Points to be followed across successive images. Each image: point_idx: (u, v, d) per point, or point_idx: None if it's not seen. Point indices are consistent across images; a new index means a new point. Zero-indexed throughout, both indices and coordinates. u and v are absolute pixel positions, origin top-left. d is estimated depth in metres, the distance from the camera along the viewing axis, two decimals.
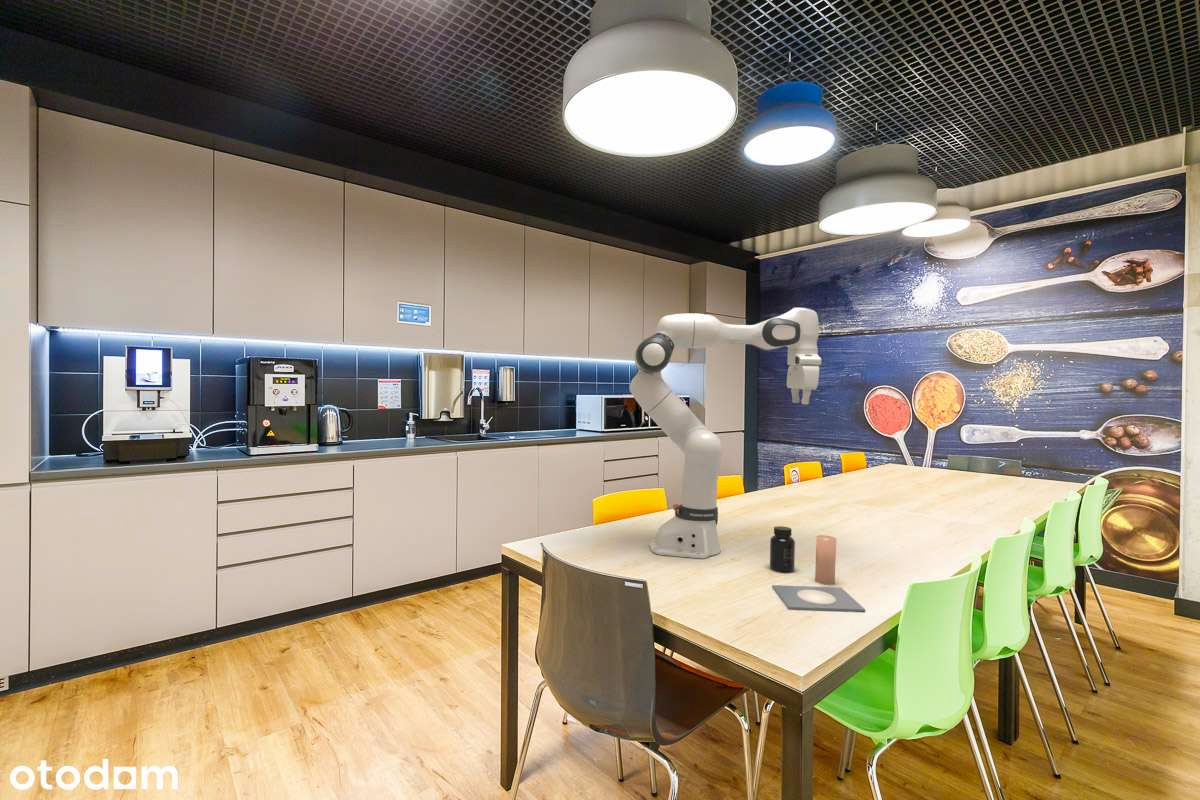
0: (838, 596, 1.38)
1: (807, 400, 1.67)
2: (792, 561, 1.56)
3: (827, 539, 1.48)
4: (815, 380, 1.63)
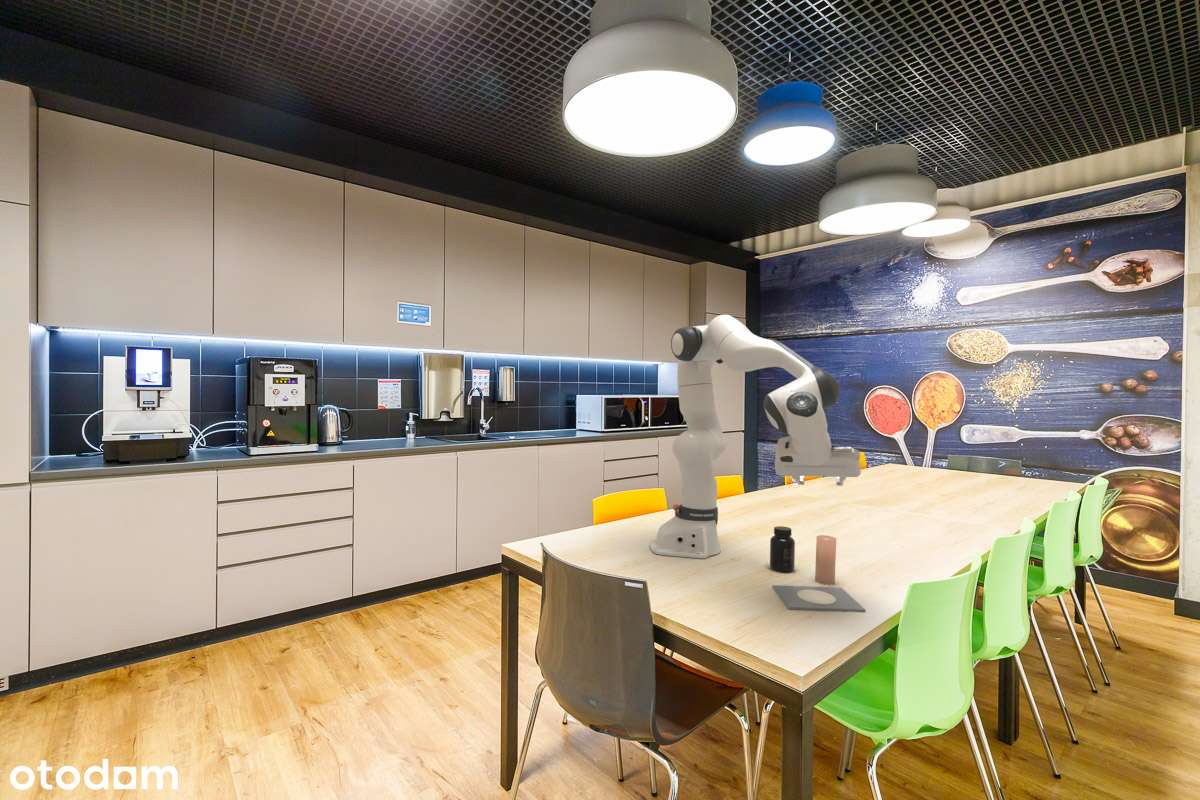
0: (838, 596, 1.38)
1: None
2: (792, 561, 1.56)
3: (827, 539, 1.48)
4: (775, 468, 1.43)
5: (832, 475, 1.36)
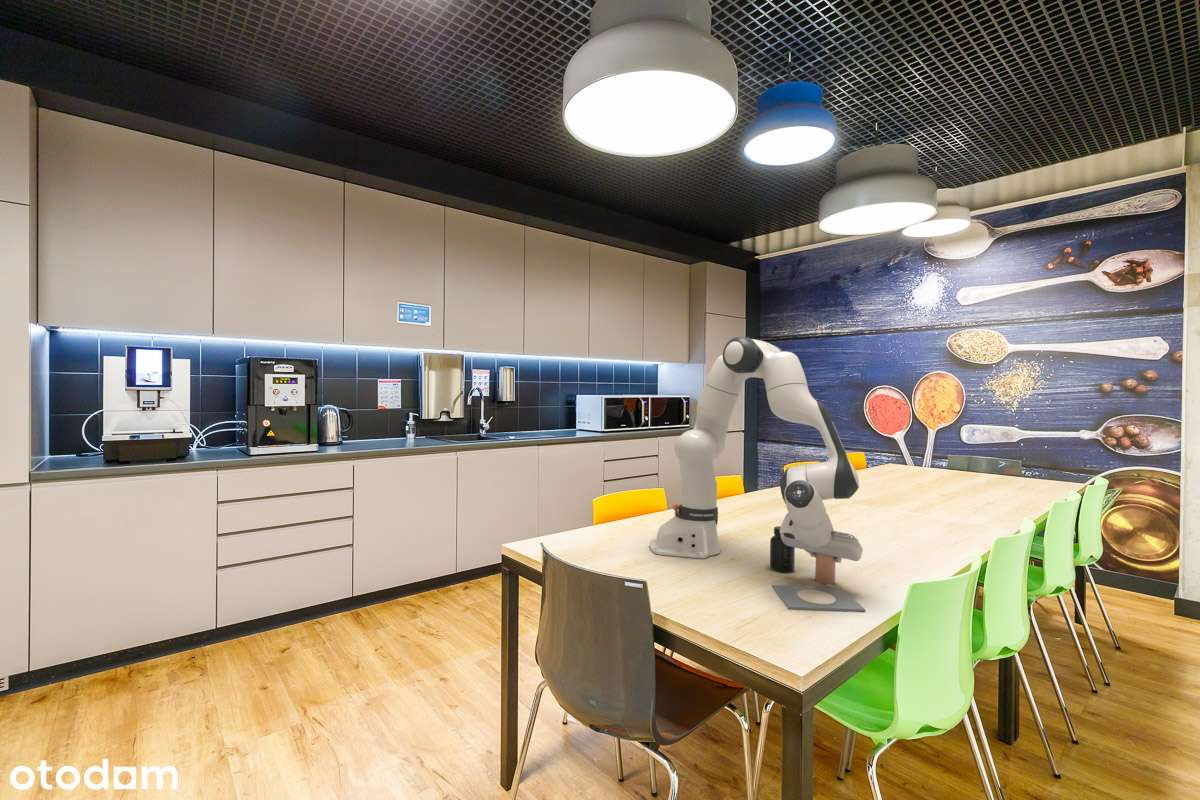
0: (838, 596, 1.38)
1: None
2: (792, 561, 1.56)
3: None
4: None
5: (834, 555, 1.44)
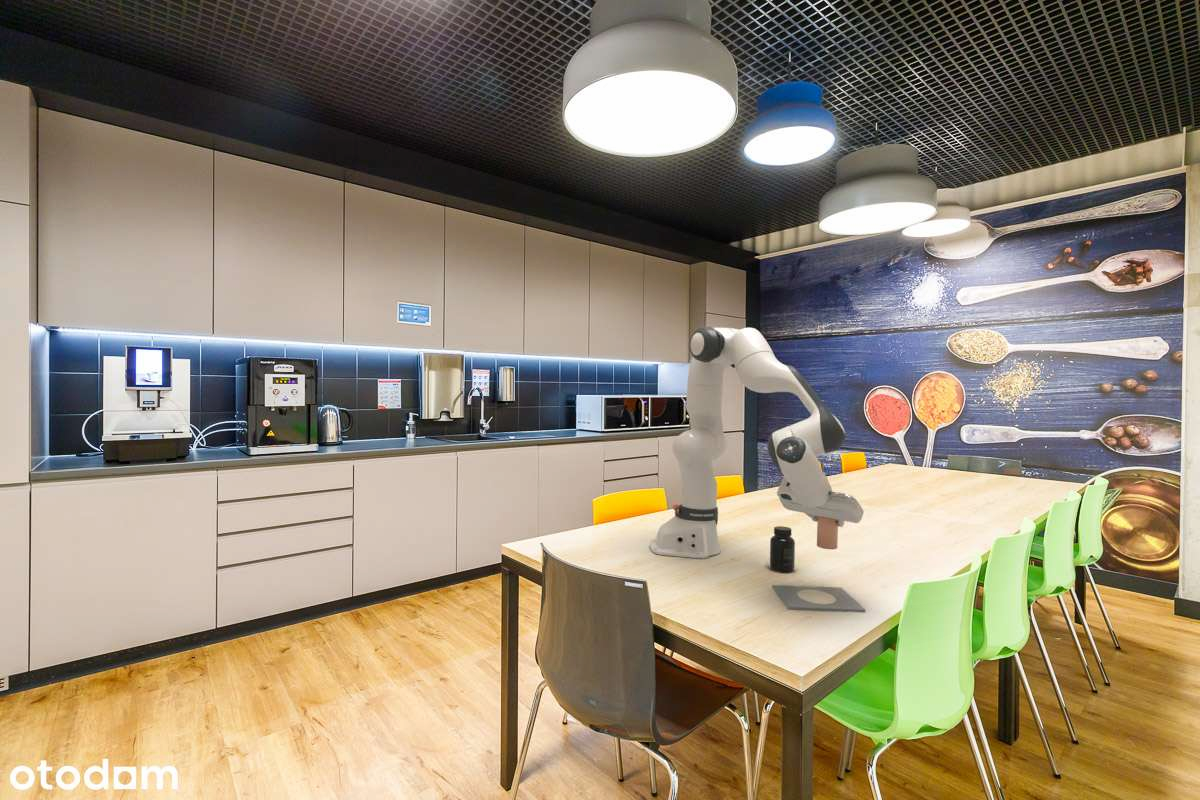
0: (838, 596, 1.38)
1: None
2: (792, 561, 1.56)
3: None
4: None
5: (833, 517, 1.38)
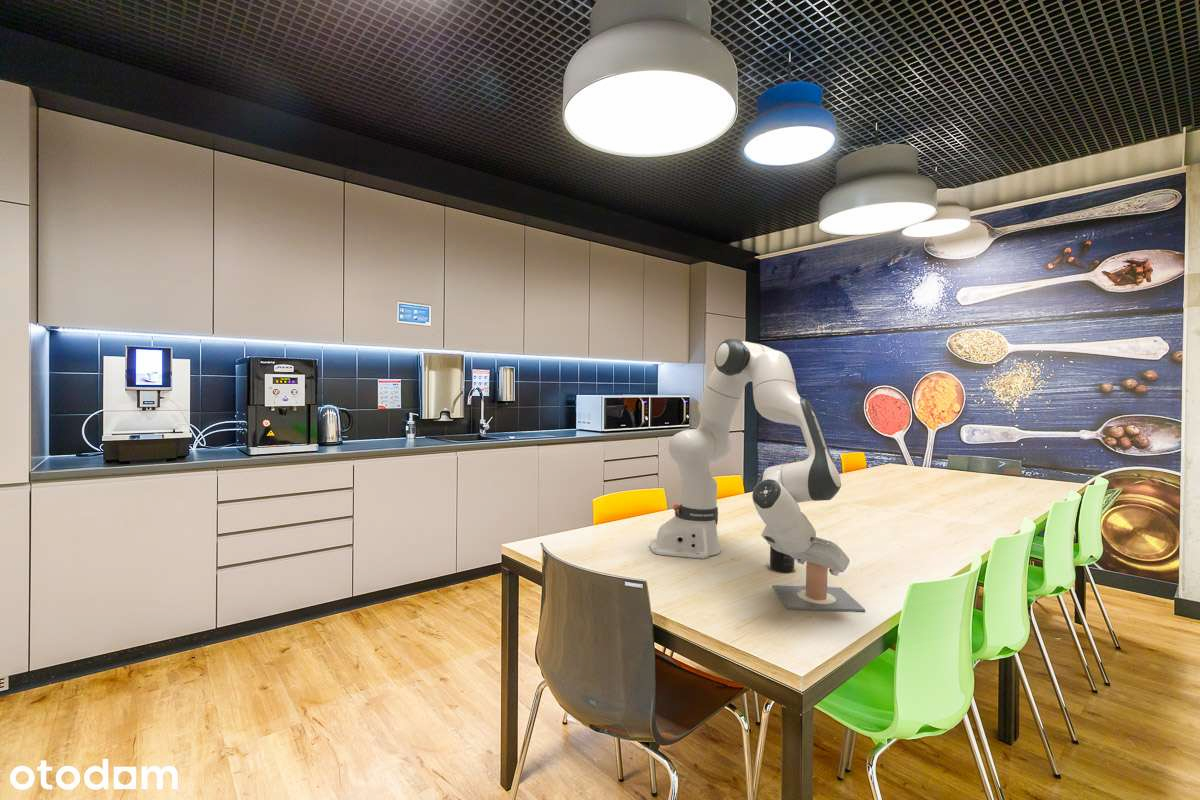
0: (838, 596, 1.38)
1: None
2: (792, 561, 1.56)
3: None
4: None
5: (819, 564, 1.31)
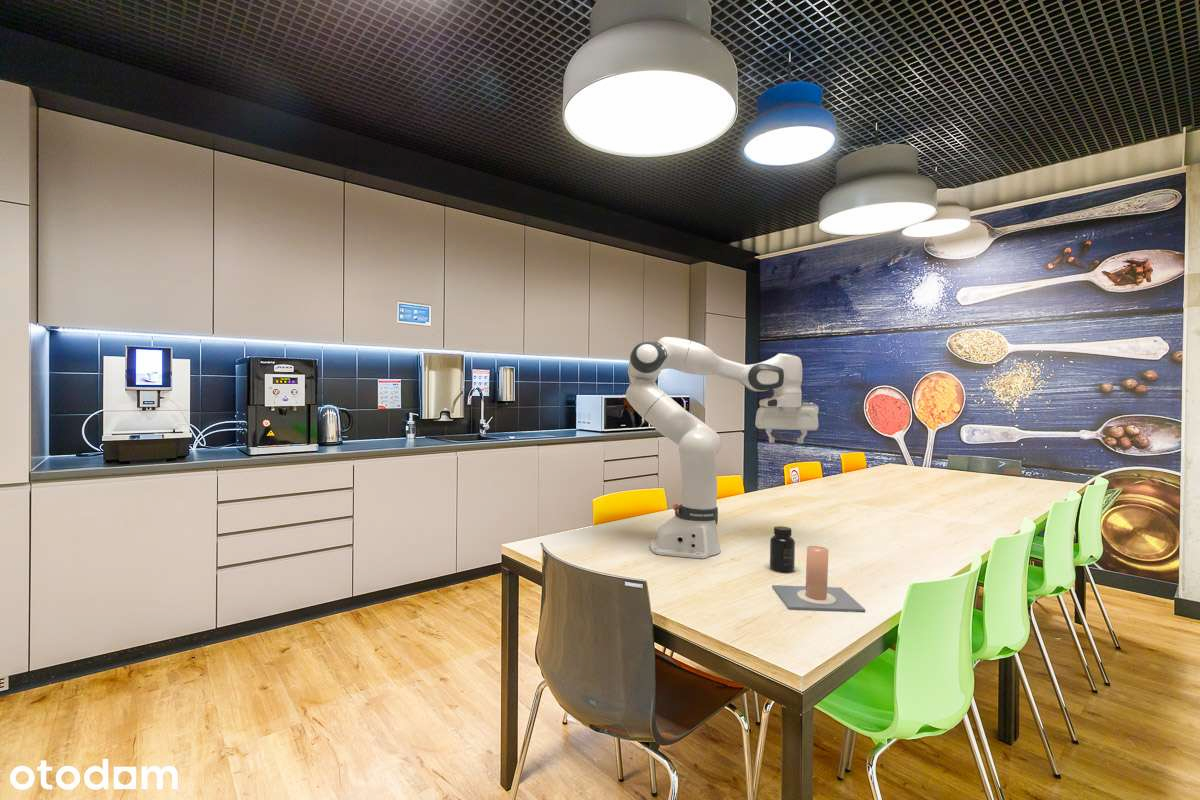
0: (838, 596, 1.38)
1: (770, 439, 1.83)
2: (792, 561, 1.56)
3: (817, 550, 1.35)
4: (757, 420, 1.83)
5: (799, 427, 1.82)
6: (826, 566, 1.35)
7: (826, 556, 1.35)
